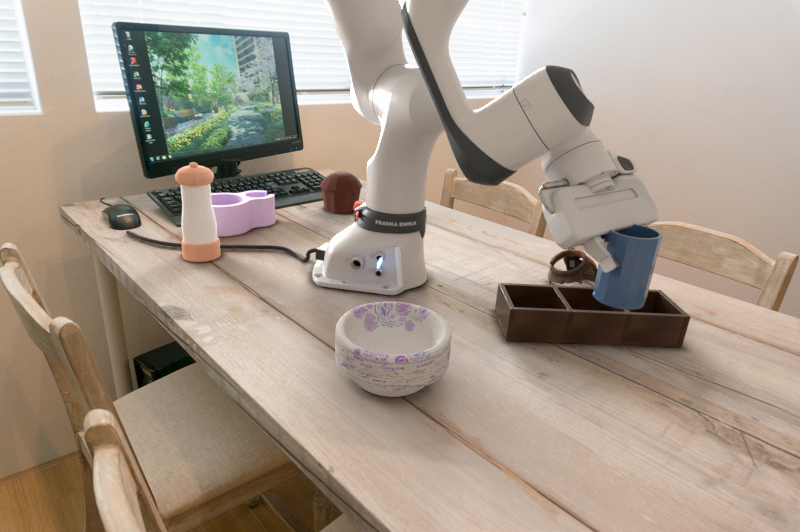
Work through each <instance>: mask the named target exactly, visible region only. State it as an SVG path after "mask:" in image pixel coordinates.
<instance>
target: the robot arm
mask: <svg viewBox="0 0 800 532" xmlns="http://www.w3.org/2000/svg"><path fill="white" fill-rule="evenodd" d="M322 2H323V4H324V6H325V8H326V11H327V13H328V15H329V18H330V20H331V22H332V25H333V27H334V30H335V31H336V34H337V37H338V39H339V41H340V44H341V47H342V50H343V53H344V57H345V60H346V64H347V68H348V74H349V78H350V81H351V82H350V83H351V84H350V90H349V92H350V93H349V94H350V101H351V105H352V106H353V107H354V109H355V110H356V111H357V113H359V115H360V116H361V117H363V118H364V119H365V120H366V121H368V122H369V123H371V124H372V125H376V126H379V127H381V132H380V136H379V140H378V144H377V147H376V150H375V153H374V154H373V156H372V157H371V158H369V160H368V161H367V165H366V185H365V186H366V187H365V202H363V201H361V200H359V201H356V203H354V207H353V208H354V218H353V219H354V222H353V223H351V224H350V225H349V226H347V227H346V228H344V229H342V230H341V231H340V232H338V233H337V234H335V235H333V237H332V238H331V239H330V240H329V242H325V243H323V244H321V245H320V246H318V247H314V248H310V249H308V250H307V251H306V253H305V257H304V258H303V257H300V256H299V255H298V254H297V253H296V252H295V251H294V250H292V249H290V248H289V247H286V246H281V245H272V244H271V245H270V244H220V250H239V249H240V250H276V251H282V252H286V253H288V254H290V255H291V256H292V257H294V258H295V259H297V260H299V261H300V262H302V263H307V262H309V261H310V259H311V254H313V253H314V254H315V260H317V261H316V262H315V264H314V266H313V268H312V275H311V278H312V281H313V282H314V284H315V285H316V286H318V287H323V288H329V289H339V290H347V291H352V292H353V291H355V292H363V293H369V294H370V293H372V294H378V295H386V296H397V295H399V294H401V293H402V292H404V291H406V290H411V289H415V288H417V287H420V286H422V285H423V284H425V283H426V282H427V280H428V279H429V275H428V272H427V266H426V260H425V249H424V248H425V247H424V246H425V245H424V238H425V236H426V232H427V221H428V220H427V219H428V217H427V216H428V214H427V206H426V204H425V203H426V193H427V182H428V173H429V167H430V164H431V159H432V157H433V153H434V151H435V148H436V146H437V143H438V141H439V139H440V137H441V136H442V135H443V133H444V132H445V135H446V138H447V141H448V143H449V146H450V149H451V153H452V156H453V159H454V162H455V164H456V166H457V168H458V169H459V171H460V172H461V173H462V175H463V176H464V177H465V178H466V179H467V181H468V182H470V183H473V184H476V185H481V186H490V187H497V186H499V185H500V184H502V183H503V182H505V181H506V180H507V179H509V178H510V177H512V176H513V175H515V174H516V173H517V172H518V170H520V169H522V168H523V167H525V166H526V165H528V164H529V163H531V162H533V161H535V160H536V159H538V160H539V162H540V164H541V168H542V173H543V175H544V178H545V179H546V181H545V182H543V183H542V184H541V186H540V187H539V189H538V198H539V200H540V202H541V210H542V213H543V216H544V219H545V222H546V225H547V228H548V230H549V232H550V234H551V236H552V239H553V241H554V243H555V244H556V245H557V246H558V247H559V248H561V249H562V250H563V251H564V250H568V249H569V248H576V247H581V246H582V247H583V249H584V251H585V254H587V255H588V256H589V257H590V258H591V259H592V260H594V261H595V262H597V263H598V265H599V264H600V266H601V268H602V270H603V272H605V273H607V272H610V271H613V270H615V269H617V268H619V267H620V263H619V261H618V260H617V257H616V256H615V254H614V255H611V254H610V253H609V252H608V251H607V250H606V249H605V247H604V246H603V244H604V237H605V234H607V233H609V232H610V230H613V231H619V230H623V229H627V228H630V227H632V226H633V224H638V225H642V226H646V227H650V225H652V224H654V223H656V222H657V221H658V220H659V214H660V213H659V209H658V207H657V205H656V203H655V201H654V199H653V197H652V195H651V192H650V191H649V189H648V188H647V186H646V184H645V183H644V181H643V180H642V179H641V177H639V176H638V175H636V174H635V173H636V172H637V171H638V167H637V165H636V163H635V162H634V160H632V158H629V157H626V156H622V155H620V154H618V153H615V152H614V151H612V150H609V149H607V148H606V147H605V145H604V143H603V141H602V139H600V138H599V137H598V136H597V135H596V134H595V133H594V132H593V130H592V128H591V123H592V119H593V117H594V113H595V112H594V111H595V105H594V103H593V102H592V101H591V100H589V99H588V97H587V95H586V93H585V91H584V90H583V88H582V84H581V82H580V81H579V78H578V75H577V74H576V72H575V71H574V70H573V69H571V68H569V67H564V66H559V65H554V64H553V65H552V64H551V65H550V64H548V65H545V66H543V67H540V68H539V69H537V70H535V71H533V72H532V73H530V74H528V75H527V76H525V77H523V79H521V80H520V81H518V82H516V83H515V84H514V85H513V86H512V87H510V88H509V89H508V90H506V91H504V92H503V93H502V94H500V95H498V96H497V97H496V98H495V99H493V100H492V101H490V102H488V103H487V104H485V105H484V106H483V107H480V108H479V109H473V108H471V106H470V103H469V101H468V98H467V96H466V93H465V91H464V88H463V86H462V83H461V81H460V79H459V76H458V73H457V71H456V68H455V67H454V64H453V61H452V58H451V56H450V39H451V35H452V31H453V29H454V27H455V25H456V23H457V21H458V19H459V18H460V16H461V14H462V13H463V11H464V9H465V8H466V6H467V5H468V3H469V2H470V0H405V1H404V3H403V5H402V3H401V0H322ZM403 30H404V33H405V36H406V40H407V42H408V44H409V47H410V50H411V52H412V55H413V57H414V60H415V63H416V64H417V65H410V63H409V62H408V60H407V59H406V55H405V51H404V43H403ZM125 233H126V234H127V235H128V236H131V237H134V238H136V239H138V240H140V241H142V242H143V241H144V242H147V243H150V244H154V245H158V246H159V245H160V246H166V247H173V248H181V249H182V243H179V242H171V241H164V240H158V239H153V238H149V237H146V236H143V235H141V234H137V233H135V232H134V231H131V230H126V231H125Z"/></svg>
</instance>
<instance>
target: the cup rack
mask: <svg viewBox="0 0 800 532" xmlns="http://www.w3.org/2000/svg"><path fill="white" fill-rule="evenodd" d="M593 289H594V286H579V285H578V286H577V285H556V284H555V285H554V284H537V283H536V284H535V283H533V284H532V283H511V282H509V283H508V282H498V284H497V291H496V299H495V306H494V314H495V318H496V319H497V322H498V324H499V327H500V330H501V332H502V335H503V337H504V340H505V341H506V342H522V343H523V342H525V343H548V344H549V343H550V344H577V345H596V346H597V345H598V346H600V345H601V346H621V347H622V346H623V347H624V346H625V347H648V348H670V349H673V348H674V349H682V347H683V344H684V341H685V338H686V334H687V331H688V327H689V325H690V321H691V315H689V314H688V313H687V312H686V311H685V310H684V309H682V307H680V306H679V305H678V304H677V303H676V302H675V301H673V300H672V298H670V297H669V296H668V295H667V294H666V293H665V292H664V291H662V290H661V289H649V291H648V294H647V298H646V302H645V304H644V306H643V307H642V308H640V309H635V310H625V309H618V308H614V307H610V306H607V305H605V304H603V303H601V302H599V301H597V300H596V299H595V298H594V297H593Z"/></svg>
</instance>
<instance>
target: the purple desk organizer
mask: <svg viewBox="0 0 800 532" xmlns="http://www.w3.org/2000/svg"><path fill="white" fill-rule="evenodd" d="M211 199H212V206H213V210H214V214H215V218H216V222H217V237H218V238H219V237H232V236H233V237H234V236H238V235H242V234H245V233H248V232H249V231H250V230H251V229H254V228H265V227H269V226H272V225H274V224H276V199H275V193H268V190H261V189H254V190H246V191H241V192H211Z"/></svg>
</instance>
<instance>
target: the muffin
mask: <svg viewBox="0 0 800 532" xmlns="http://www.w3.org/2000/svg"><path fill="white" fill-rule="evenodd" d="M319 187H320V189H321V194H322V196H321V197H322V201H323V208H324V209H325V210H326V212H329V213H333V214H343V215H344V214H351V213H355V211H354V208H353V207H354V203H356V201H360V196H361V190H362V189H363V184H362V183H361V181H360V179H359V178H358V177H357V176H356V175H355V174H353V173H351V172H348V171H340V170H339V171H335V172H332V173H329V174H328V175H327V176H325V177H324V178H323V179H322V181H321V182H320V184H319Z"/></svg>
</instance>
